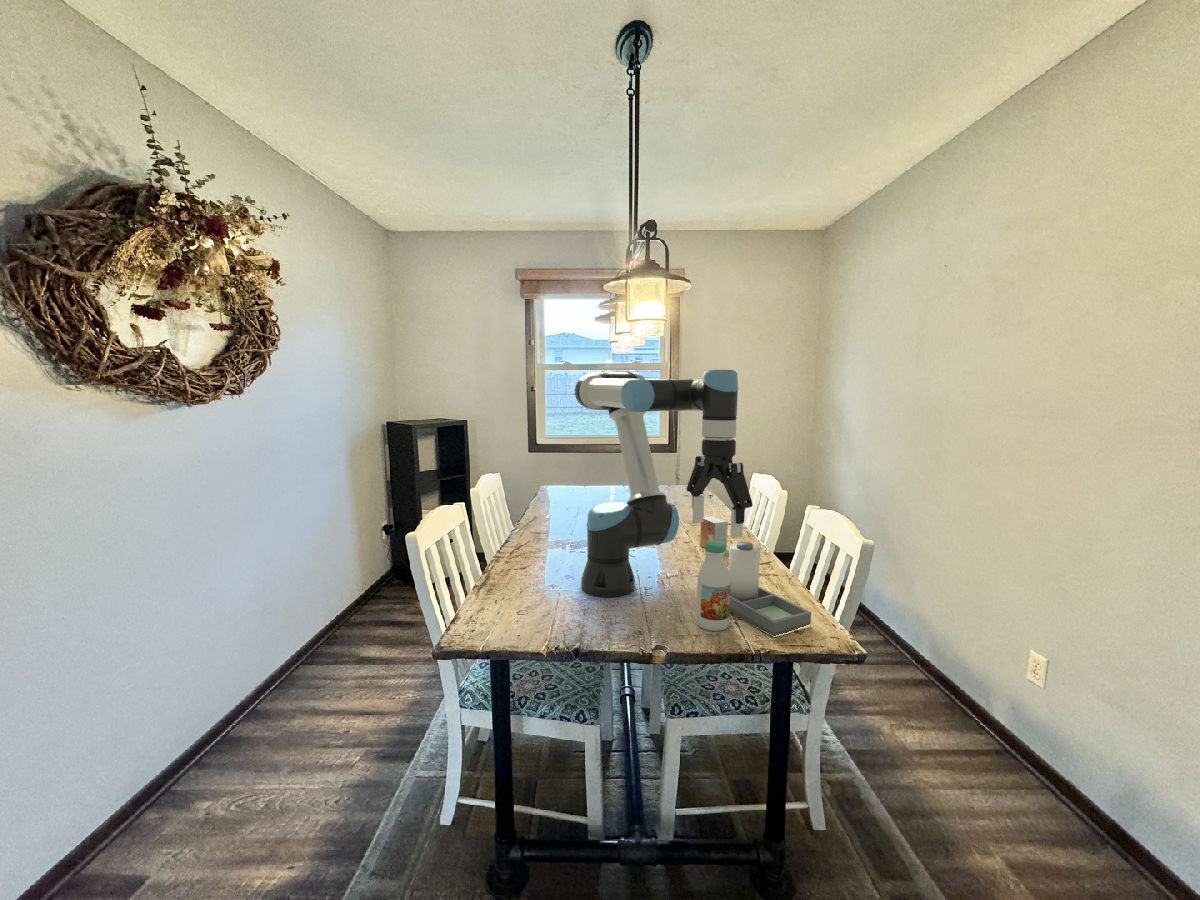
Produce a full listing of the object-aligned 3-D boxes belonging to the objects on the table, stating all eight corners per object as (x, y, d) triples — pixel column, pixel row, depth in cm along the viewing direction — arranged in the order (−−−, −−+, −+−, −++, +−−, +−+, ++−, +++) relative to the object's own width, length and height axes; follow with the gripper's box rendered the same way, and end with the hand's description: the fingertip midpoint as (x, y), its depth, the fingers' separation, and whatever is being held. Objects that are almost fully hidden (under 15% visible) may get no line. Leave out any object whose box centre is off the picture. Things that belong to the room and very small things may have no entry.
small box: (699, 546, 177) (700, 517, 176) (712, 544, 180) (713, 515, 178) (713, 553, 170) (714, 523, 169) (727, 551, 172) (728, 521, 171)
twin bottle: (741, 608, 126) (743, 550, 124) (721, 597, 132) (723, 542, 130) (764, 602, 129) (766, 546, 127) (743, 591, 136) (745, 538, 134)
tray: (773, 638, 113) (774, 622, 113) (710, 600, 133) (710, 586, 133) (810, 627, 119) (811, 612, 118) (743, 592, 138) (744, 579, 138)
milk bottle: (689, 624, 120) (691, 543, 117) (707, 613, 125) (710, 536, 123) (717, 635, 115) (720, 551, 112) (735, 624, 120) (738, 543, 117)
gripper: (772, 443, 105) (768, 541, 107) (698, 433, 127) (696, 515, 129) (744, 444, 101) (741, 546, 104) (673, 434, 123) (671, 518, 126)
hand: (716, 529), depth 117 cm, fingers open, 13 cm apart
